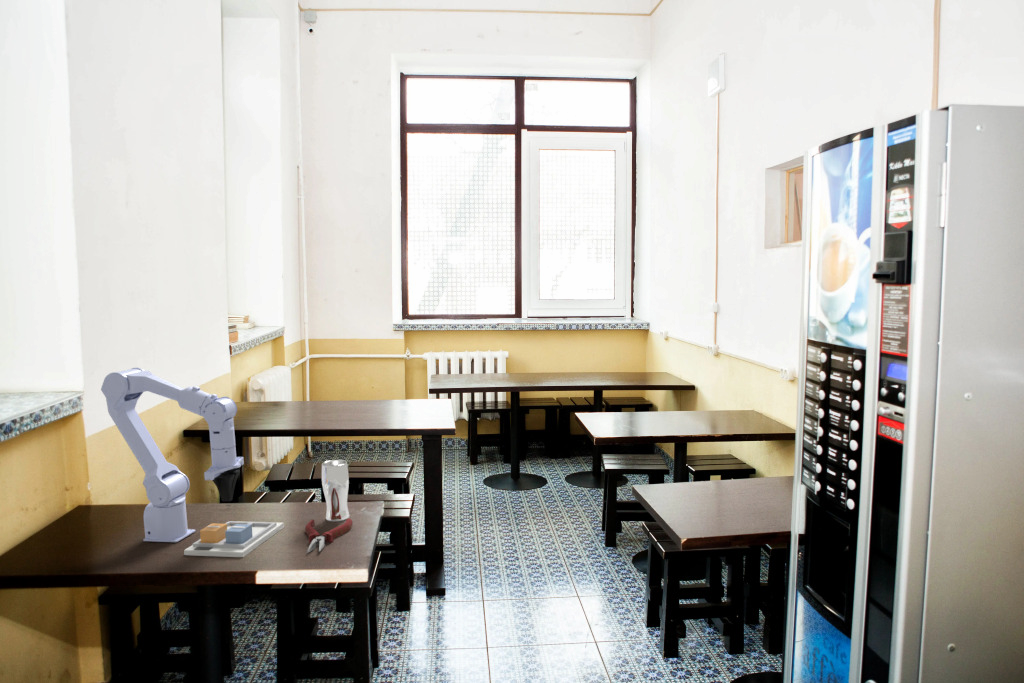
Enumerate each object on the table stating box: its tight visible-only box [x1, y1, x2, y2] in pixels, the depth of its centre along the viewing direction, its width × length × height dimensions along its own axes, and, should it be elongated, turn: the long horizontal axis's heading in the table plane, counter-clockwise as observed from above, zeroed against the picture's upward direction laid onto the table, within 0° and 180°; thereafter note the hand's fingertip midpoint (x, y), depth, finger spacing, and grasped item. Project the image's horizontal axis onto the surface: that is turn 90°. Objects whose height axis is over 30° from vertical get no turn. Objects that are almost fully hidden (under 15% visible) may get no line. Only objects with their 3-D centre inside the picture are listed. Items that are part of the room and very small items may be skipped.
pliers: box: [304, 517, 353, 554], centre depth 181 cm, size 12×20×3 cm, turn 2°
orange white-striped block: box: [199, 522, 227, 543], centre depth 178 cm, size 4×5×4 cm
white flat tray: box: [183, 520, 285, 558], centre depth 182 cm, size 15×20×2 cm
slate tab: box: [225, 524, 253, 544], centre depth 177 cm, size 4×5×4 cm
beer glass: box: [321, 459, 350, 523], centre depth 195 cm, size 7×7×15 cm
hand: (227, 500), depth 184 cm, fingers closed
